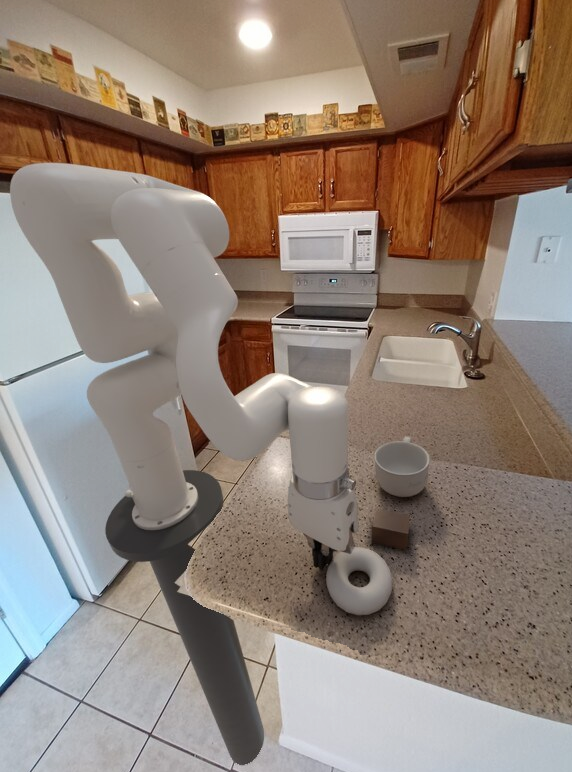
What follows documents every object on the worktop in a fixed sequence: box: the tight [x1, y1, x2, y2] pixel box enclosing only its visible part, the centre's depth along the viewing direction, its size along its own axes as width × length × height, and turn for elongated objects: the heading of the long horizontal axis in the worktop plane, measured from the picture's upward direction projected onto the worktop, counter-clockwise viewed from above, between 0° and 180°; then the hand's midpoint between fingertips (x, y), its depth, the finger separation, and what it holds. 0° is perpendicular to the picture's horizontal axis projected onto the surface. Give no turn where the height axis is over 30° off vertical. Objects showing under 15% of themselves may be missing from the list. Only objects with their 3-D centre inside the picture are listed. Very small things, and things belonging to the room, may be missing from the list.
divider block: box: [371, 508, 411, 551], centre depth 57 cm, size 6×4×4 cm, turn 73°
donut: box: [325, 546, 393, 616], centre depth 50 cm, size 10×4×10 cm
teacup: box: [373, 436, 431, 498], centre depth 68 cm, size 14×11×8 cm
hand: (322, 561), depth 53 cm, fingers closed
